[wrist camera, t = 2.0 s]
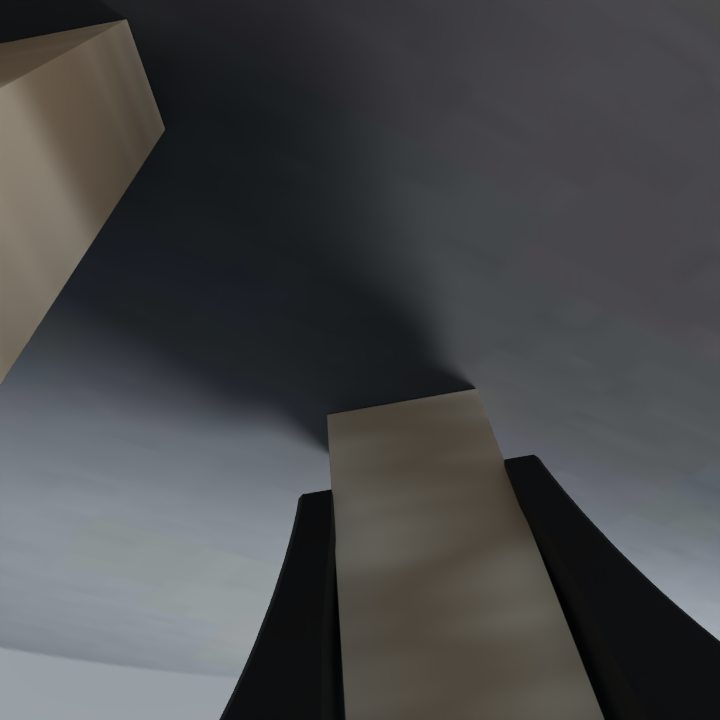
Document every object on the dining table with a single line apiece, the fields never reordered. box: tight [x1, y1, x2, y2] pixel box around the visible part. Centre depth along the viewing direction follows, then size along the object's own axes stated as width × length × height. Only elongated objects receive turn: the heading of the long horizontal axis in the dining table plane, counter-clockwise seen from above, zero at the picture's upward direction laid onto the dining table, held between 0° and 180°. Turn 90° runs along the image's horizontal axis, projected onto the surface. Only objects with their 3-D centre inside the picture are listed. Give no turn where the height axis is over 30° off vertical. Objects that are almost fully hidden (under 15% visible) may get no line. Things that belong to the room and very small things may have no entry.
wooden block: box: [327, 389, 604, 720], centre depth 11 cm, size 4×2×8 cm, turn 99°
